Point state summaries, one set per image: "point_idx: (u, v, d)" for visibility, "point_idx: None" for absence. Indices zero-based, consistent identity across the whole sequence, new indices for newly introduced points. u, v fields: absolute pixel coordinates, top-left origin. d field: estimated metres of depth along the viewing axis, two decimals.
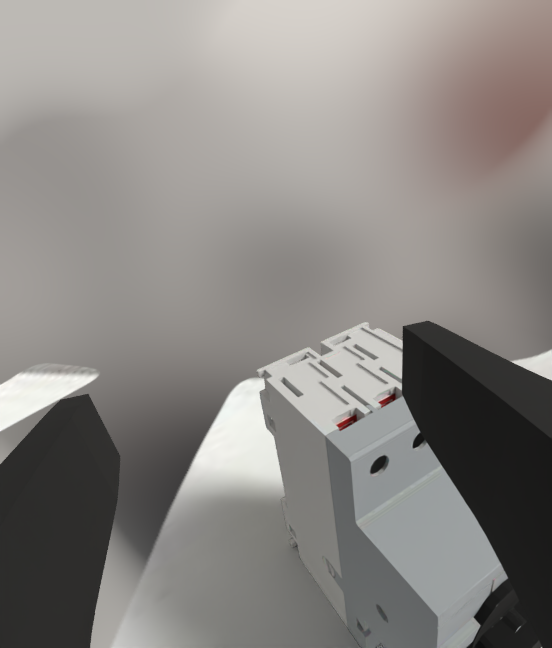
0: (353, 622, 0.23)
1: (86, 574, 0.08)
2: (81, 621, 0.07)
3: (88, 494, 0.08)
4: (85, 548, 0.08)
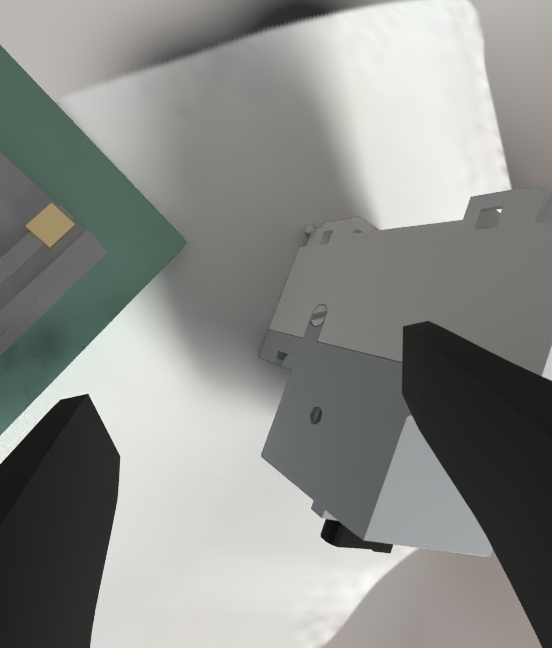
0: (279, 345, 0.23)
1: (86, 574, 0.08)
2: (81, 621, 0.07)
3: (88, 494, 0.08)
4: (85, 548, 0.08)
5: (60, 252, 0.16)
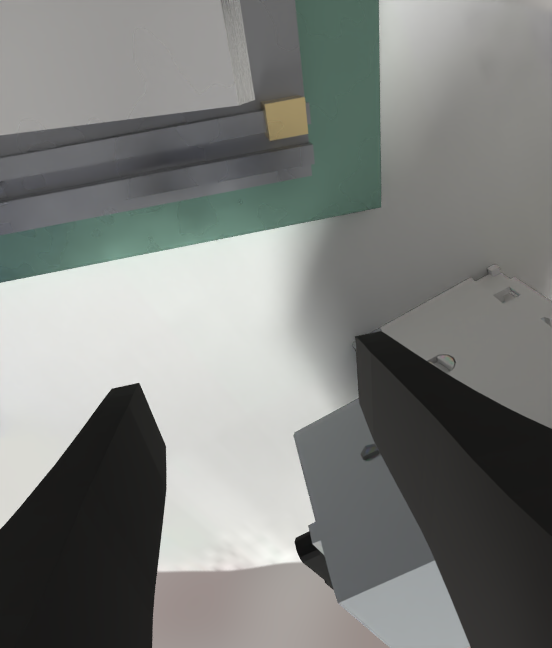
0: None
1: (146, 560, 0.08)
2: (144, 606, 0.07)
3: (144, 481, 0.08)
4: (144, 534, 0.08)
5: (272, 146, 0.14)
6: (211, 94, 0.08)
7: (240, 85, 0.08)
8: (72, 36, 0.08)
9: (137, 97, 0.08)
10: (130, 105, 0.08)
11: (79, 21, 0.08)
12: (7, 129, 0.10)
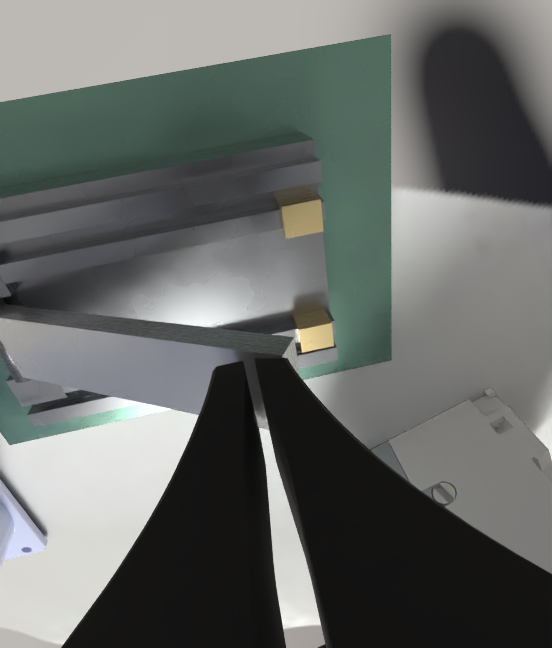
0: None
1: (267, 531, 0.08)
2: (272, 575, 0.07)
3: (258, 455, 0.08)
4: (263, 506, 0.08)
5: None
6: None
7: None
8: (166, 367, 0.11)
9: None
10: None
11: (174, 363, 0.10)
12: (100, 391, 0.13)
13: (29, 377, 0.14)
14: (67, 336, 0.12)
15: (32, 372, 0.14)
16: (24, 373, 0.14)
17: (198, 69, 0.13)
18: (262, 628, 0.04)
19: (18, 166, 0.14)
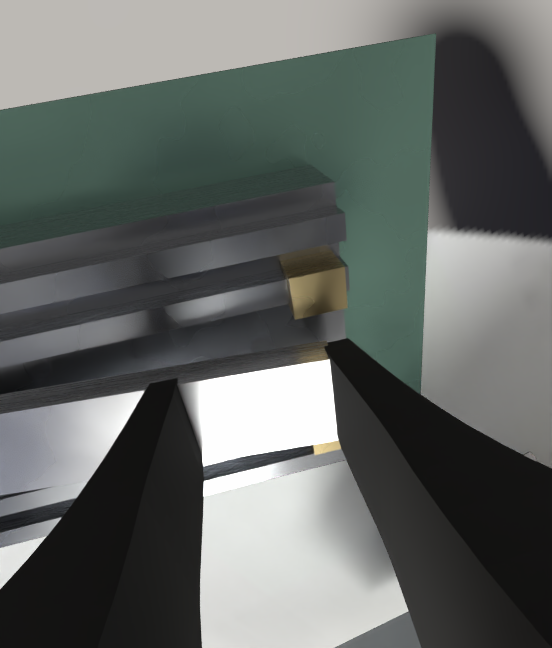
0: None
1: (192, 549, 0.08)
2: (193, 594, 0.07)
3: (187, 471, 0.08)
4: (190, 523, 0.08)
5: None
6: (318, 436, 0.10)
7: None
8: None
9: (246, 444, 0.10)
10: (238, 449, 0.10)
11: (197, 407, 0.09)
12: (80, 479, 0.10)
13: None
14: (32, 421, 0.09)
15: None
16: None
17: (168, 82, 0.09)
18: None
19: None
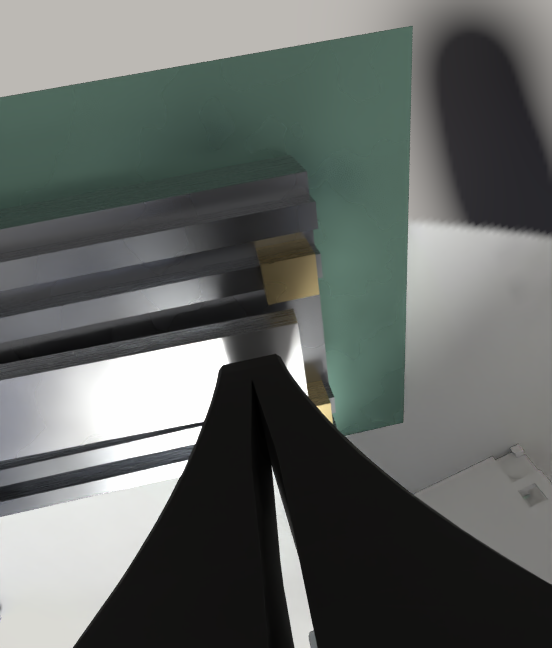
0: None
1: (274, 529, 0.08)
2: (279, 573, 0.07)
3: (264, 454, 0.08)
4: (270, 504, 0.08)
5: None
6: None
7: (305, 386, 0.11)
8: (167, 380, 0.10)
9: None
10: None
11: (177, 372, 0.10)
12: (68, 445, 0.11)
13: None
14: (23, 388, 0.10)
15: None
16: None
17: (149, 73, 0.10)
18: (274, 625, 0.04)
19: None
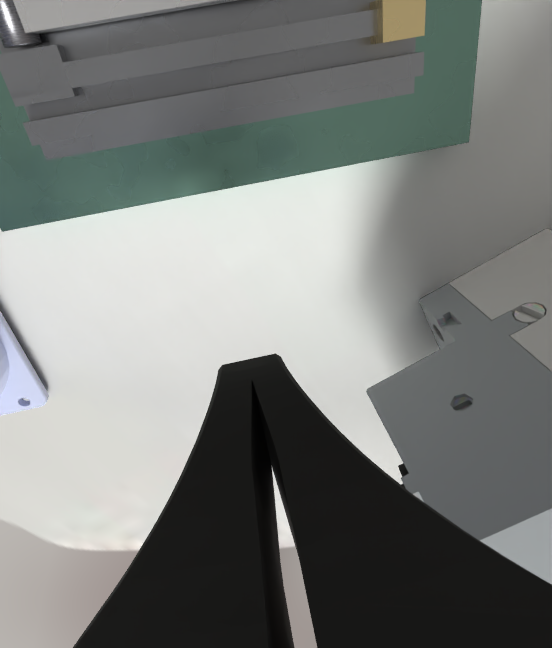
0: (454, 307, 0.20)
1: (274, 529, 0.08)
2: (279, 573, 0.07)
3: (264, 454, 0.08)
4: (270, 505, 0.08)
5: (376, 57, 0.13)
6: None
7: None
8: None
9: None
10: None
11: None
12: (165, 4, 0.10)
13: (39, 27, 0.10)
14: None
15: (48, 11, 0.10)
16: (31, 20, 0.10)
17: None
18: (275, 625, 0.05)
19: None
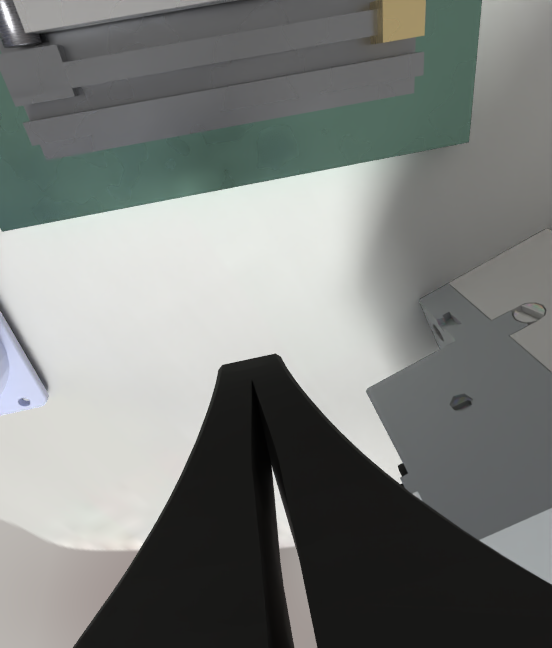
0: (454, 307, 0.20)
1: (274, 529, 0.08)
2: (279, 573, 0.07)
3: (264, 454, 0.08)
4: (270, 505, 0.08)
5: (376, 57, 0.13)
6: None
7: None
8: None
9: None
10: None
11: None
12: (165, 4, 0.10)
13: (39, 27, 0.10)
14: None
15: (48, 11, 0.10)
16: (31, 20, 0.10)
17: None
18: (275, 625, 0.05)
19: None
